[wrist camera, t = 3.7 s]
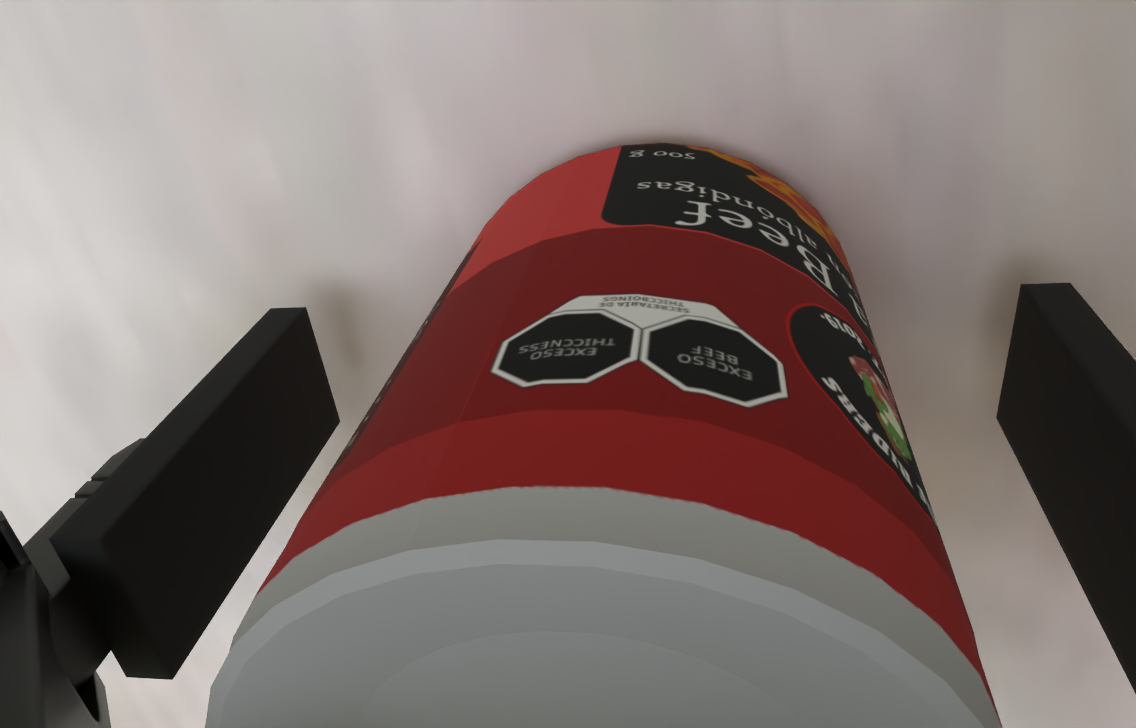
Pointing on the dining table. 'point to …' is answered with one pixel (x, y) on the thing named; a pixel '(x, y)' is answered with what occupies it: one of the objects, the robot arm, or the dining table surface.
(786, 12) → the dining table surface
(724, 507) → the canned food
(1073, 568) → the robot arm
